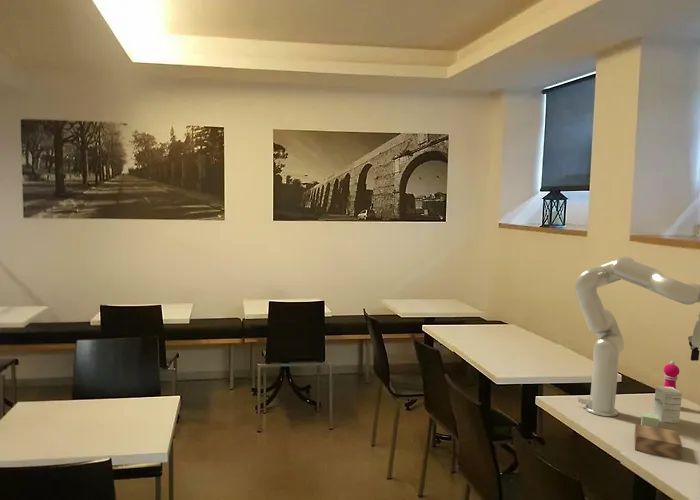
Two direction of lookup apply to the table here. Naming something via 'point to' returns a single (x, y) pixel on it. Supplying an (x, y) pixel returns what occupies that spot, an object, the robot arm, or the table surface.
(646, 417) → the sage block
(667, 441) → the walnut riser block
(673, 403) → the supplement box
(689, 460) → the table surface
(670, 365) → the pepper mill
